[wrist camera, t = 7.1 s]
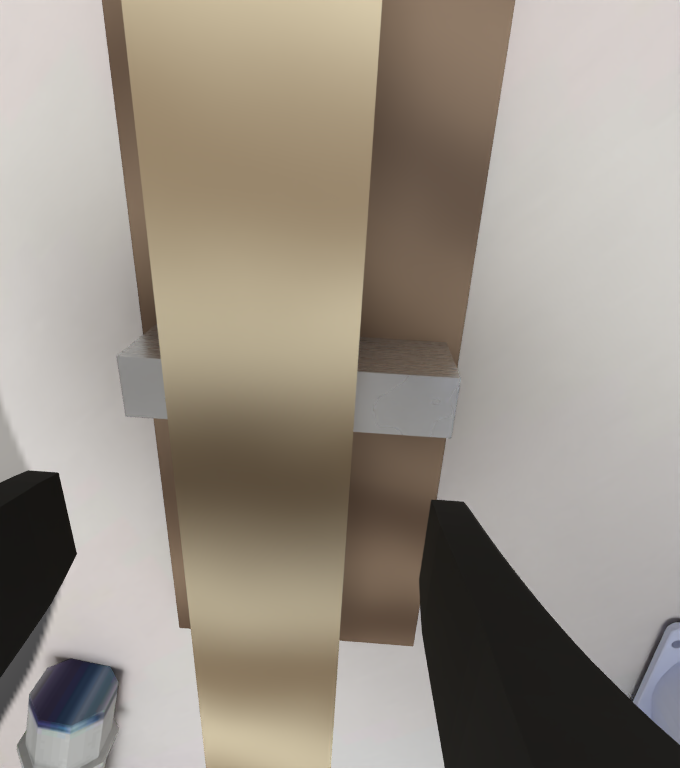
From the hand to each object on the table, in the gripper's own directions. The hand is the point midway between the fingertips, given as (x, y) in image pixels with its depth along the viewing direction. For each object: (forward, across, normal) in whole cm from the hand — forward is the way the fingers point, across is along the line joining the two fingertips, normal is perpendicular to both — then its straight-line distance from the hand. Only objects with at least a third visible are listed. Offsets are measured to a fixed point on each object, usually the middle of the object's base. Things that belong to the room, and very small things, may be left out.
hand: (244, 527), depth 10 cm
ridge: (+10, 0, 0) cm, 10 cm away
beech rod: (+6, 0, 0) cm, 6 cm away
